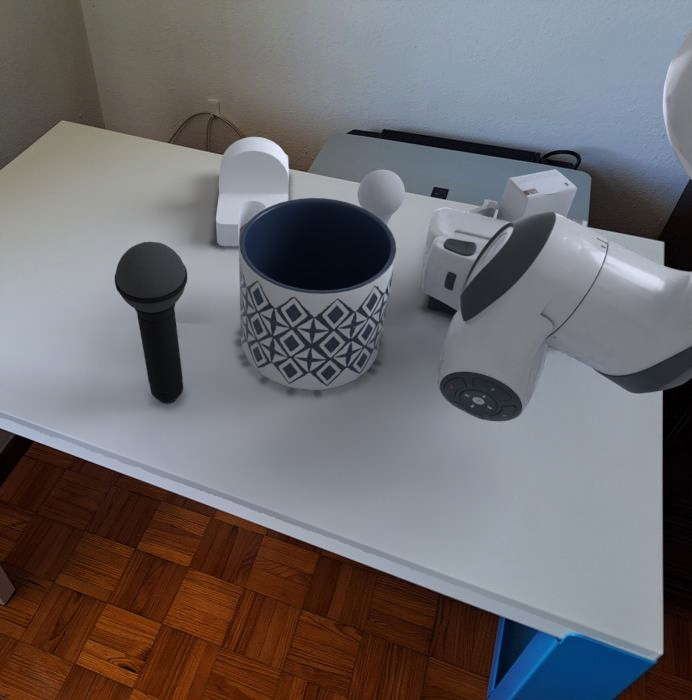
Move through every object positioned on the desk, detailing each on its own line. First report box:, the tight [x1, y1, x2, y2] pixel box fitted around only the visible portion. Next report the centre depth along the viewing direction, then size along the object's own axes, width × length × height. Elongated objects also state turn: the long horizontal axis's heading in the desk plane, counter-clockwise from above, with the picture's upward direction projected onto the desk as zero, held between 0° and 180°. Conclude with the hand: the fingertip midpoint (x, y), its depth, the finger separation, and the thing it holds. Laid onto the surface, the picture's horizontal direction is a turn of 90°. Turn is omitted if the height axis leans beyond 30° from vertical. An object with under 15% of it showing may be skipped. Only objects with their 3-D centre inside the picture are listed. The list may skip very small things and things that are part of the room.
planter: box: [238, 197, 398, 391], centre depth 74 cm, size 16×16×14 cm
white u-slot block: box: [215, 136, 290, 247], centre depth 95 cm, size 10×18×10 cm, turn 176°
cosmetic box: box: [495, 168, 578, 222], centre depth 78 cm, size 6×4×12 cm
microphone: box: [114, 241, 188, 405], centre depth 67 cm, size 7×7×20 cm
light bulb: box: [357, 169, 406, 226], centre depth 89 cm, size 6×6×10 cm
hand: (533, 215), depth 77 cm, fingers open, 8 cm apart
